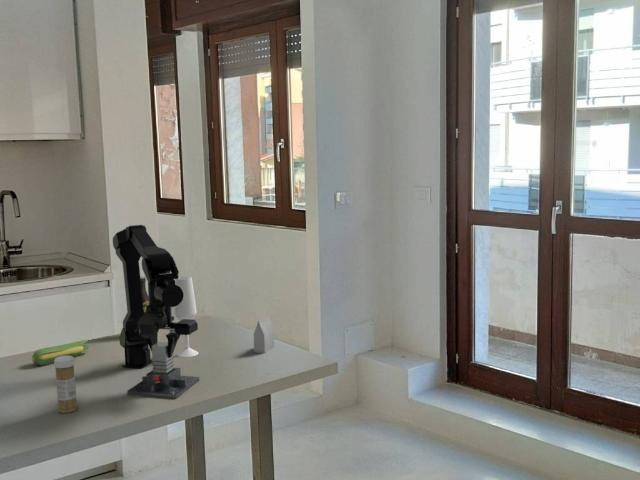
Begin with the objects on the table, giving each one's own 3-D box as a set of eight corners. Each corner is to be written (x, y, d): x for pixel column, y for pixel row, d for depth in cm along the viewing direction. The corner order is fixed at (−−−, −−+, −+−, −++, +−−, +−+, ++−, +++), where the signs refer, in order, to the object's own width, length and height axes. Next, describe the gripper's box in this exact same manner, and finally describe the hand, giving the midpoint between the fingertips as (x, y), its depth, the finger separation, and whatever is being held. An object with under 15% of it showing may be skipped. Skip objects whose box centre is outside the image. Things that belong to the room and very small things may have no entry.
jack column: (152, 374, 189) (151, 346, 188) (160, 369, 193) (158, 341, 192) (167, 375, 188) (165, 346, 187) (174, 370, 192) (172, 342, 191)
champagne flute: (194, 357, 217) (190, 280, 213) (173, 356, 218) (169, 279, 214) (201, 350, 223) (198, 275, 220) (181, 350, 224) (177, 275, 221)
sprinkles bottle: (71, 405, 179) (68, 353, 177) (81, 409, 176) (77, 357, 174) (54, 410, 176) (50, 358, 174) (63, 415, 173) (59, 361, 171)
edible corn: (27, 351, 212) (34, 350, 209) (86, 338, 227) (94, 336, 224) (30, 368, 212) (37, 367, 209) (90, 354, 227) (97, 353, 224)
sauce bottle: (146, 337, 240) (143, 279, 237) (129, 337, 241) (125, 279, 238) (154, 332, 246) (151, 275, 243) (138, 331, 247) (134, 275, 244)
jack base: (127, 394, 186) (126, 377, 186) (153, 376, 200) (152, 361, 199) (176, 398, 183) (175, 381, 182) (199, 380, 196) (198, 364, 195)
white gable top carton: (274, 347, 226) (273, 316, 224) (264, 353, 220) (263, 321, 218) (264, 346, 227) (263, 315, 226) (254, 352, 221) (253, 320, 220)
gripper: (111, 305, 182) (115, 364, 185) (178, 308, 178) (181, 368, 180) (133, 295, 193) (137, 351, 195) (197, 298, 188) (199, 355, 190)
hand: (162, 356), depth 190 cm, fingers closed on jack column, 4 cm apart
